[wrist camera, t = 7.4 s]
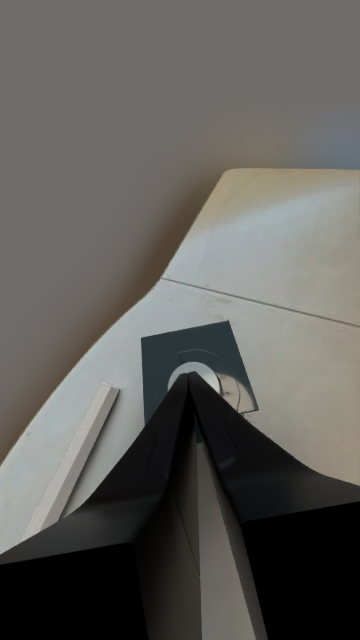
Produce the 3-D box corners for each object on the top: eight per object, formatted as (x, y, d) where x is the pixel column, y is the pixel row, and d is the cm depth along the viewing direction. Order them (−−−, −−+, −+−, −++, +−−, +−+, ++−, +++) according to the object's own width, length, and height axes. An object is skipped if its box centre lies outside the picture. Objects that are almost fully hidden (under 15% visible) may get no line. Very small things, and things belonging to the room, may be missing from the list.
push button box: (247, 423, 18) (274, 430, 11) (163, 437, 18) (136, 453, 11) (223, 342, 22) (231, 310, 15) (156, 355, 23) (134, 330, 16)
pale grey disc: (223, 412, 12) (226, 412, 10) (176, 420, 12) (171, 422, 10) (211, 364, 14) (212, 357, 12) (170, 372, 14) (165, 366, 12)
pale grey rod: (31, 563, 15) (115, 386, 22) (35, 587, 14) (123, 390, 20) (-5, 576, 14) (97, 380, 20) (-5, 604, 12) (105, 384, 19)
